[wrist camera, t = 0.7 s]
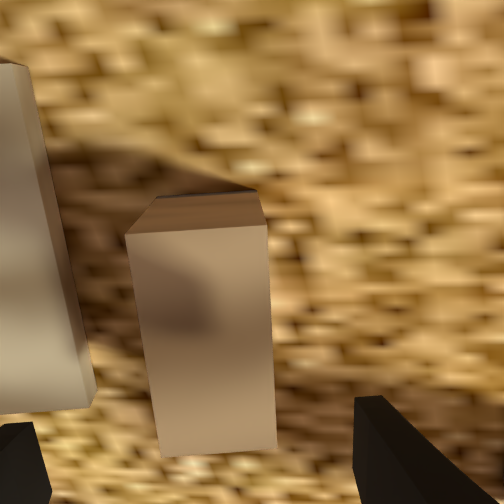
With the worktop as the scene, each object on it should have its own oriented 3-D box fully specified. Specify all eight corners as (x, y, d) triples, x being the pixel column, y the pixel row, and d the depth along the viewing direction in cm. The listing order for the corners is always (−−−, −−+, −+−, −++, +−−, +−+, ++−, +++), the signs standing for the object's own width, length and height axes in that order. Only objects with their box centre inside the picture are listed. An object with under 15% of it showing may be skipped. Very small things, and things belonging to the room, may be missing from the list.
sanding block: (265, 358, 19) (277, 448, 14) (180, 364, 19) (161, 457, 14) (256, 189, 17) (266, 225, 12) (158, 195, 17) (124, 234, 12)
